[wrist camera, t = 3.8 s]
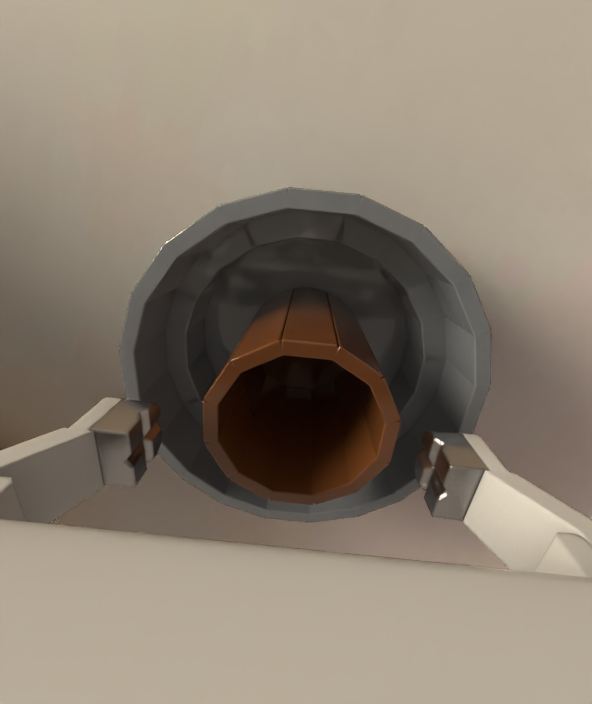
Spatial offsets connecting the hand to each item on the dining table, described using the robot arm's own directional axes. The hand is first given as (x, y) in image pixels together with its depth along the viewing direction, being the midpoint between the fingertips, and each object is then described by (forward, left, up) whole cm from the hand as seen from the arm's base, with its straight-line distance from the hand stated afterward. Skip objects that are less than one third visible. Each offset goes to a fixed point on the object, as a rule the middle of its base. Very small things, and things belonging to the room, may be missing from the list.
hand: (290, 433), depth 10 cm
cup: (0, 0, -8) cm, 8 cm away
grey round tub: (0, 0, -9) cm, 9 cm away
